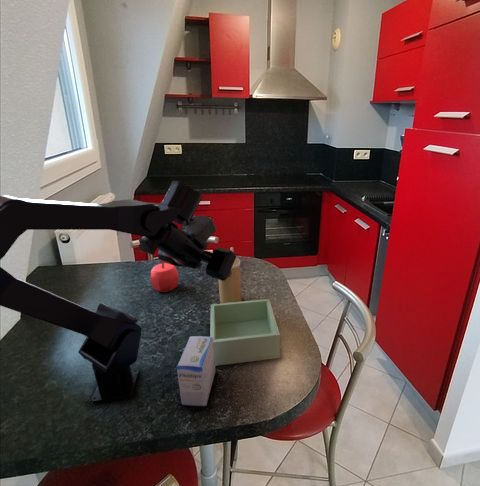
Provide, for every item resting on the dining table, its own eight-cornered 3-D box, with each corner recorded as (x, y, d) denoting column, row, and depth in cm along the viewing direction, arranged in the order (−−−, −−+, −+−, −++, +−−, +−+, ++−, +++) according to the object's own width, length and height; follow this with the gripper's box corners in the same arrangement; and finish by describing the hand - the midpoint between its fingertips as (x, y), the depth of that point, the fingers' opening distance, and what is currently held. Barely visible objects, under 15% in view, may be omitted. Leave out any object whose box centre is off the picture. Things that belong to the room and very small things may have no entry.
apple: (158, 298, 87) (154, 272, 84) (147, 287, 93) (143, 262, 90) (185, 288, 92) (182, 263, 89) (173, 278, 97) (170, 254, 95)
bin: (279, 358, 66) (279, 334, 64) (212, 366, 63) (210, 342, 61) (269, 319, 78) (269, 298, 76) (212, 325, 76) (210, 304, 74)
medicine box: (193, 371, 62) (189, 335, 59) (216, 372, 62) (213, 335, 59) (181, 406, 55) (175, 366, 52) (207, 407, 55) (203, 366, 51)
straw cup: (242, 307, 83) (240, 253, 77) (220, 309, 82) (216, 254, 76) (241, 296, 88) (238, 244, 83) (219, 298, 87) (216, 245, 82)
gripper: (228, 214, 62) (260, 248, 75) (161, 201, 71) (200, 233, 84) (203, 266, 58) (241, 292, 71) (136, 246, 67) (181, 272, 80)
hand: (215, 270), depth 77 cm, fingers open, 9 cm apart
